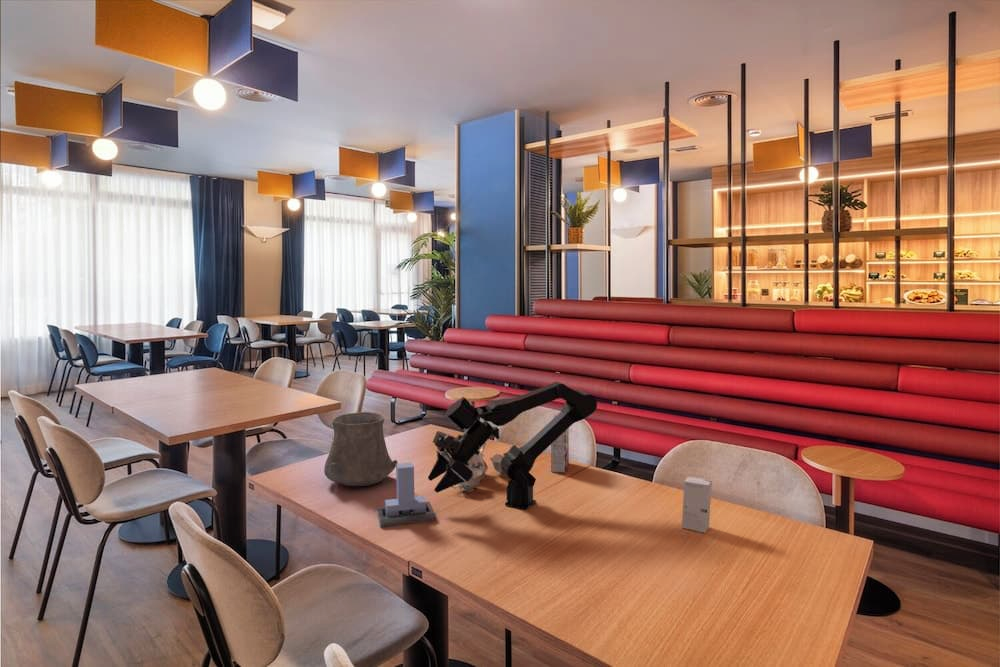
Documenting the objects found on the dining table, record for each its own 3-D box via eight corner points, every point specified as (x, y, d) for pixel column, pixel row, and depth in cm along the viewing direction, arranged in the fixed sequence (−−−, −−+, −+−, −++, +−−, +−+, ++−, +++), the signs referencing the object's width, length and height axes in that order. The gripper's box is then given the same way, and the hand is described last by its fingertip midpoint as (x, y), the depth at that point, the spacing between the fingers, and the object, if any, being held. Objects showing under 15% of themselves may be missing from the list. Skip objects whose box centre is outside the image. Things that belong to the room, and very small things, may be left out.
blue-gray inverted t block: (423, 512, 157) (422, 460, 156) (426, 518, 153) (425, 465, 152) (385, 516, 154) (384, 464, 153) (387, 523, 150) (386, 469, 149)
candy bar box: (554, 461, 200) (554, 414, 199) (568, 462, 199) (569, 414, 198) (550, 472, 189) (550, 422, 188) (565, 473, 188) (566, 422, 187)
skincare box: (681, 528, 147) (682, 481, 146) (685, 521, 151) (686, 475, 150) (707, 533, 144) (708, 485, 143) (710, 526, 148) (712, 479, 147)
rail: (429, 508, 160) (429, 501, 159) (435, 520, 152) (434, 513, 152) (377, 515, 156) (377, 507, 155) (380, 527, 148) (380, 519, 148)
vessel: (383, 497, 168) (382, 428, 166) (311, 492, 172) (309, 424, 170) (408, 472, 190) (408, 410, 188) (344, 468, 193) (342, 408, 192)
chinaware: (473, 504, 167) (478, 448, 165) (426, 487, 176) (430, 433, 173) (522, 476, 191) (527, 426, 189) (479, 462, 200) (483, 414, 197)
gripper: (443, 413, 164) (404, 455, 162) (459, 429, 146) (415, 478, 144) (471, 438, 167) (433, 480, 165) (490, 457, 149) (448, 505, 147)
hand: (432, 485), depth 155 cm, fingers open, 9 cm apart
